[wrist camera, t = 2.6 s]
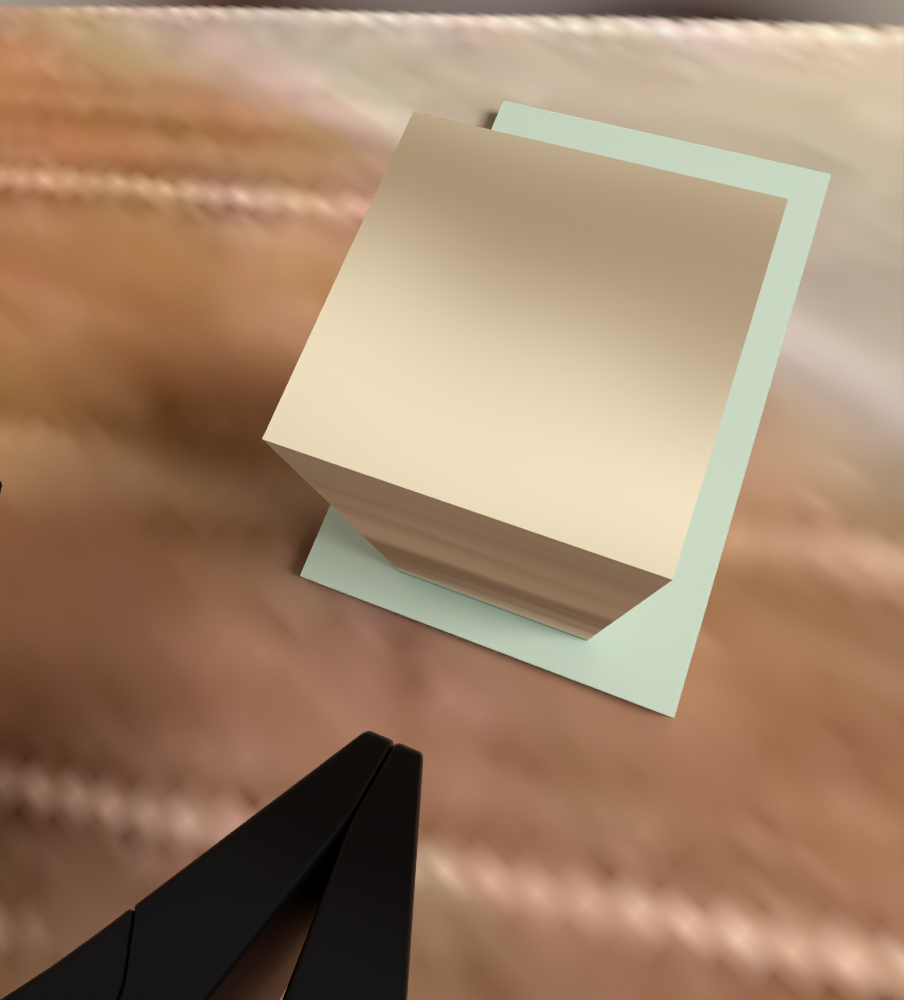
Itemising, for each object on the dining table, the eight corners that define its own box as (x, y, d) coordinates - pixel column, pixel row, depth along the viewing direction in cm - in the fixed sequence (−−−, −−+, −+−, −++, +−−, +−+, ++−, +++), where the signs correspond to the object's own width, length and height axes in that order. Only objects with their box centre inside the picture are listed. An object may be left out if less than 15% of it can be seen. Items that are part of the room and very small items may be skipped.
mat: (669, 717, 17) (673, 718, 16) (305, 578, 19) (300, 575, 18) (824, 186, 20) (831, 174, 20) (503, 113, 22) (503, 100, 22)
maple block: (586, 640, 17) (673, 580, 7) (401, 572, 18) (262, 439, 8) (645, 459, 18) (788, 198, 8) (468, 404, 19) (413, 111, 9)
